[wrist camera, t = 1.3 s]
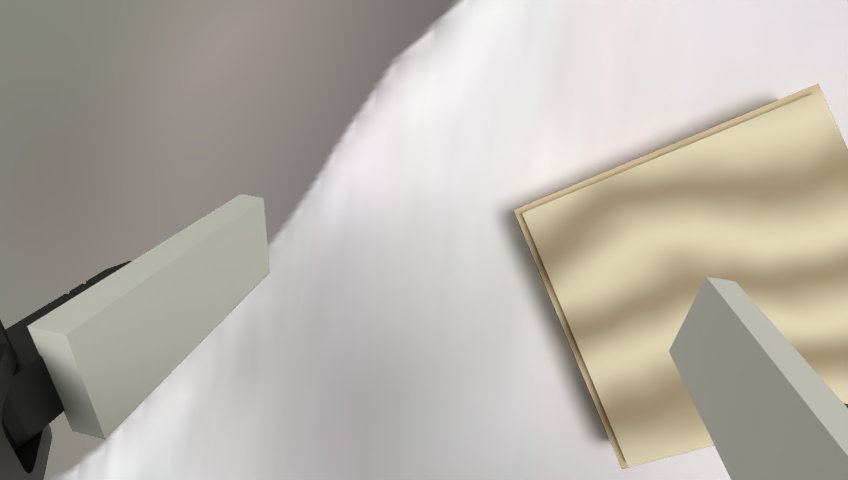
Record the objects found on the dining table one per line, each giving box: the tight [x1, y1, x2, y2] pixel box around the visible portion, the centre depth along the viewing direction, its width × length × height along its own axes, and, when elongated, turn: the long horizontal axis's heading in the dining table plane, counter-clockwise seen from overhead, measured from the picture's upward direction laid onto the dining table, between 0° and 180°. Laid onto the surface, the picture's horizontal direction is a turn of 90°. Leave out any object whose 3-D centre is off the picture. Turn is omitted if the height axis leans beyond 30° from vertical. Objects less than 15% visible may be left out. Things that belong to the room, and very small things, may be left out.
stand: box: [514, 84, 848, 469], centre depth 32 cm, size 22×22×5 cm
